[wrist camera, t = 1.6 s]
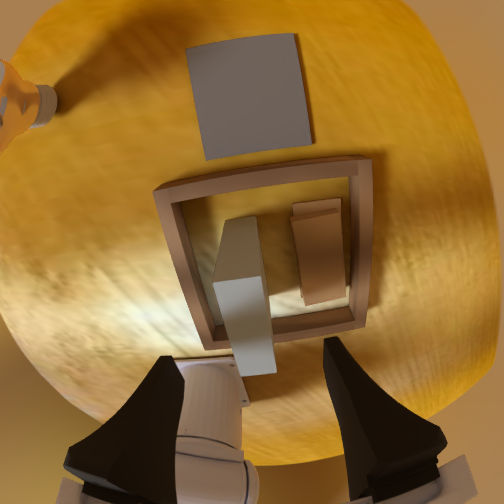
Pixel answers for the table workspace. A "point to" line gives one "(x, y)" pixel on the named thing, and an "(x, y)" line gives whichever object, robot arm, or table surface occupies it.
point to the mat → (249, 95)
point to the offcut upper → (320, 255)
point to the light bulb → (22, 104)
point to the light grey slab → (245, 297)
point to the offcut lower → (315, 207)
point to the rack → (264, 176)
